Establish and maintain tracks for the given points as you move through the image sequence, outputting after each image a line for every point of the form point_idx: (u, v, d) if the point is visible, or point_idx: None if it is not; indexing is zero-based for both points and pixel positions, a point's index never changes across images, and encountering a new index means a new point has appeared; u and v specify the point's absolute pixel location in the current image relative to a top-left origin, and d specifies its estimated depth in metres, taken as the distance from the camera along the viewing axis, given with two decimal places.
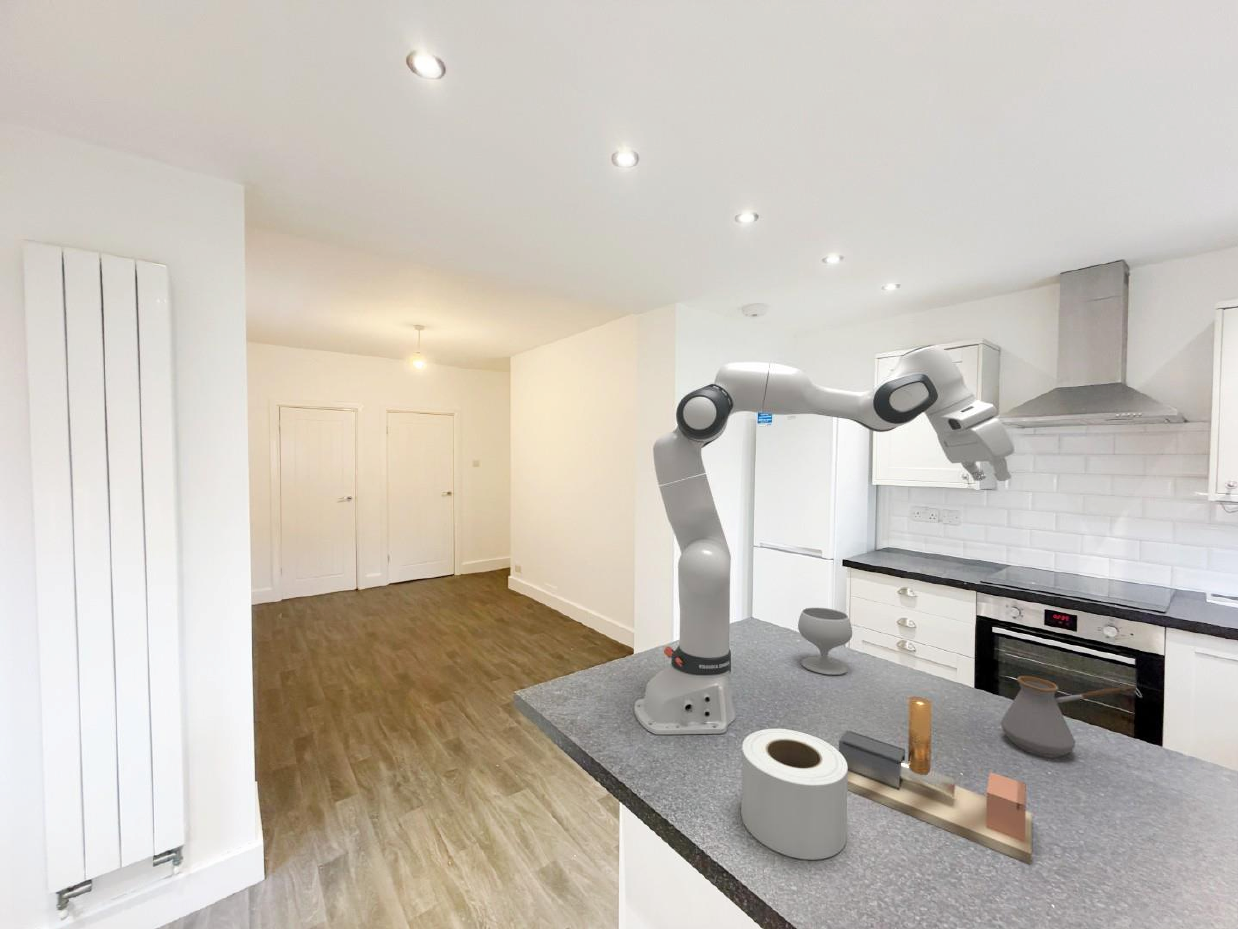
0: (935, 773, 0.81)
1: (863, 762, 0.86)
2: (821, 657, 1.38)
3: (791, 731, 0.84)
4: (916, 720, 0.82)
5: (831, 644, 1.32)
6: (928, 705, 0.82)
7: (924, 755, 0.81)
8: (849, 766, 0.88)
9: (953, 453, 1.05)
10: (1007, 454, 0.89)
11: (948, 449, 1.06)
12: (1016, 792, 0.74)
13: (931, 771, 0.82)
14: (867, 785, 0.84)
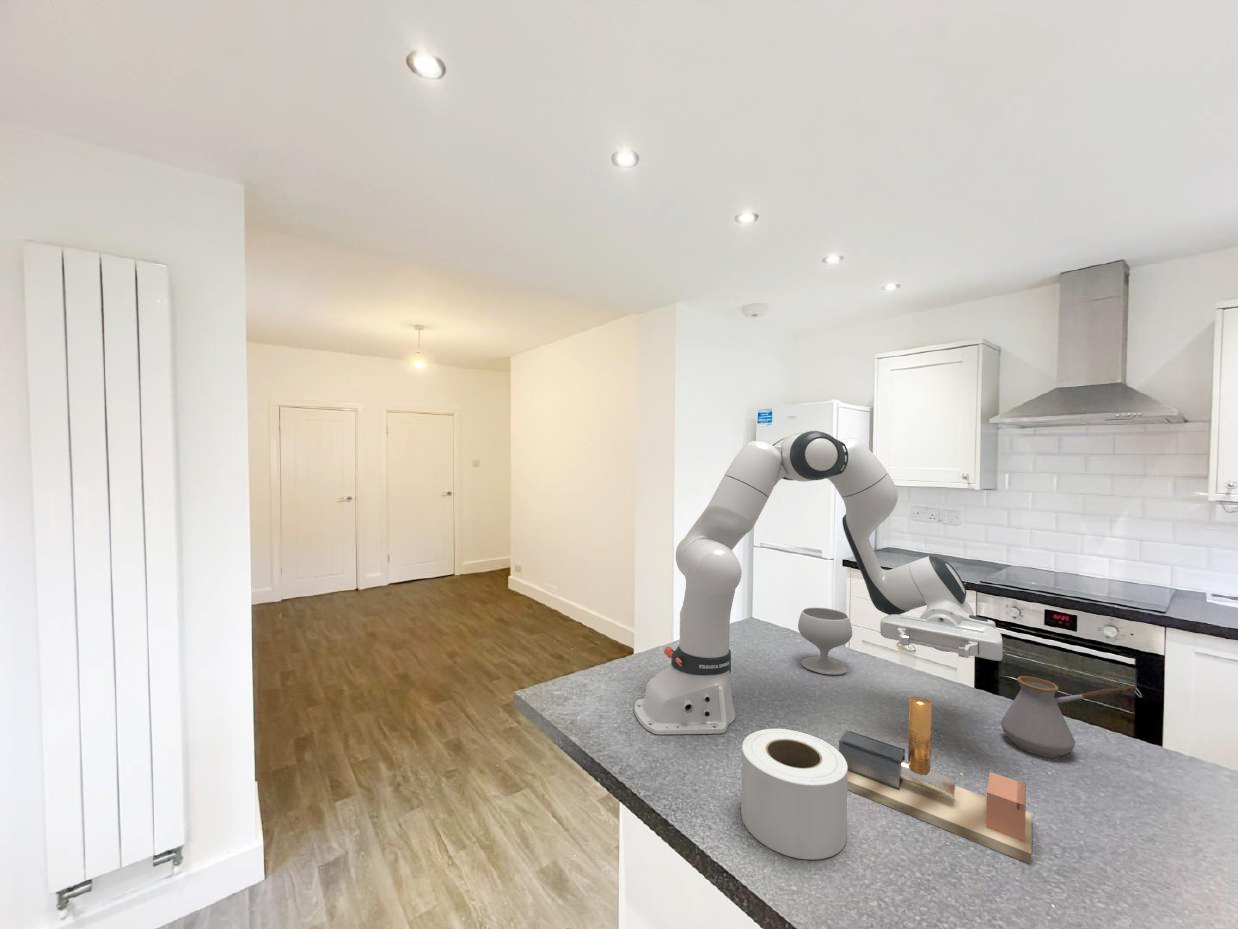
0: (935, 773, 0.81)
1: (863, 762, 0.86)
2: (821, 657, 1.38)
3: (791, 731, 0.84)
4: (916, 720, 0.82)
5: (831, 644, 1.32)
6: (928, 705, 0.82)
7: (924, 755, 0.81)
8: (849, 766, 0.88)
9: (907, 621, 1.01)
10: (999, 653, 0.90)
11: (901, 619, 1.03)
12: (1016, 792, 0.74)
13: (931, 771, 0.82)
14: (867, 785, 0.84)
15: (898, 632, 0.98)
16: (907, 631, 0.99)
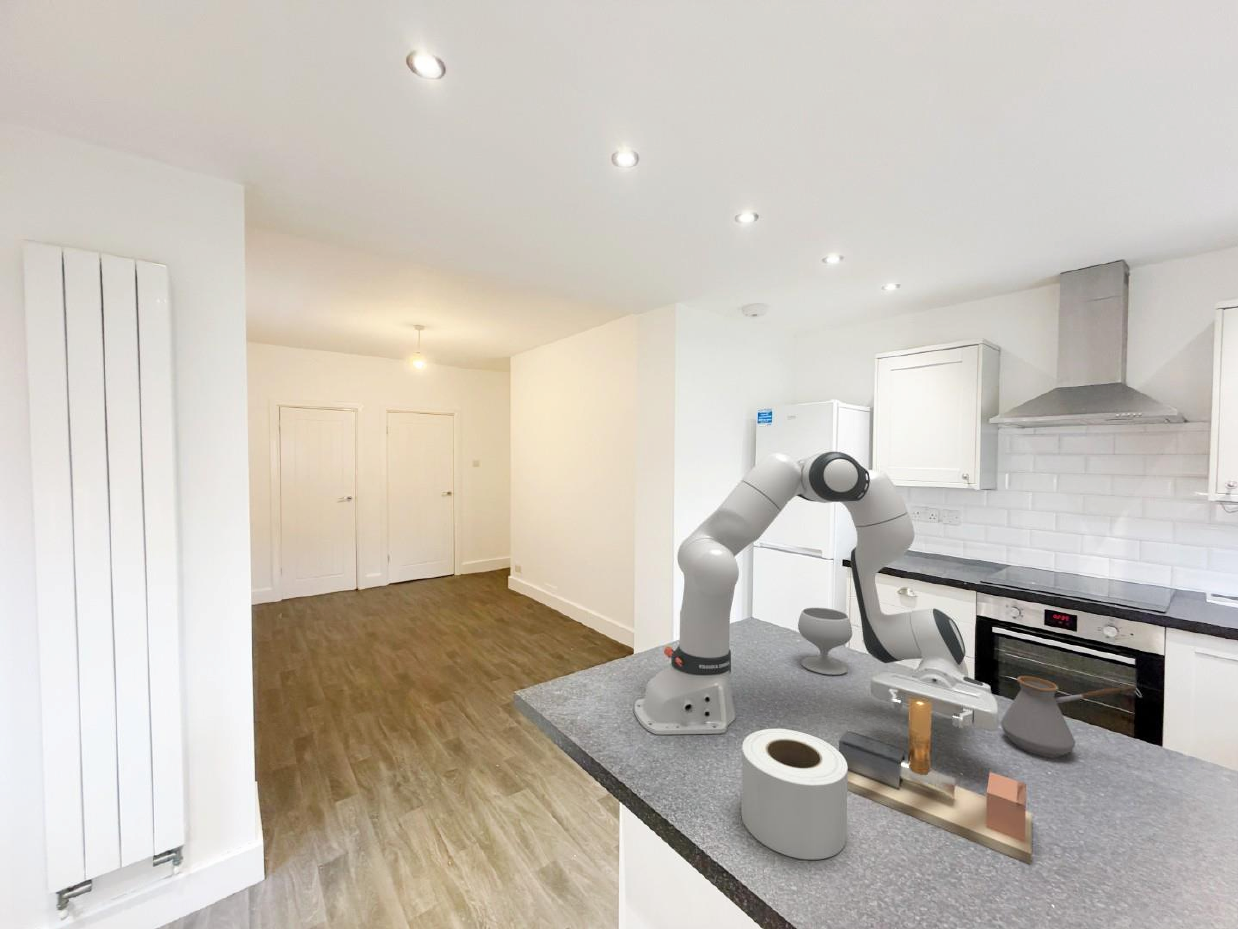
0: (935, 773, 0.81)
1: (863, 762, 0.86)
2: (821, 657, 1.38)
3: (791, 731, 0.84)
4: (916, 720, 0.82)
5: (831, 644, 1.32)
6: (928, 705, 0.82)
7: (924, 755, 0.81)
8: (849, 766, 0.88)
9: (899, 682, 0.97)
10: (994, 724, 0.85)
11: (892, 678, 0.98)
12: (1016, 792, 0.74)
13: (931, 771, 0.82)
14: (867, 785, 0.84)
15: (889, 694, 0.94)
16: (899, 693, 0.95)
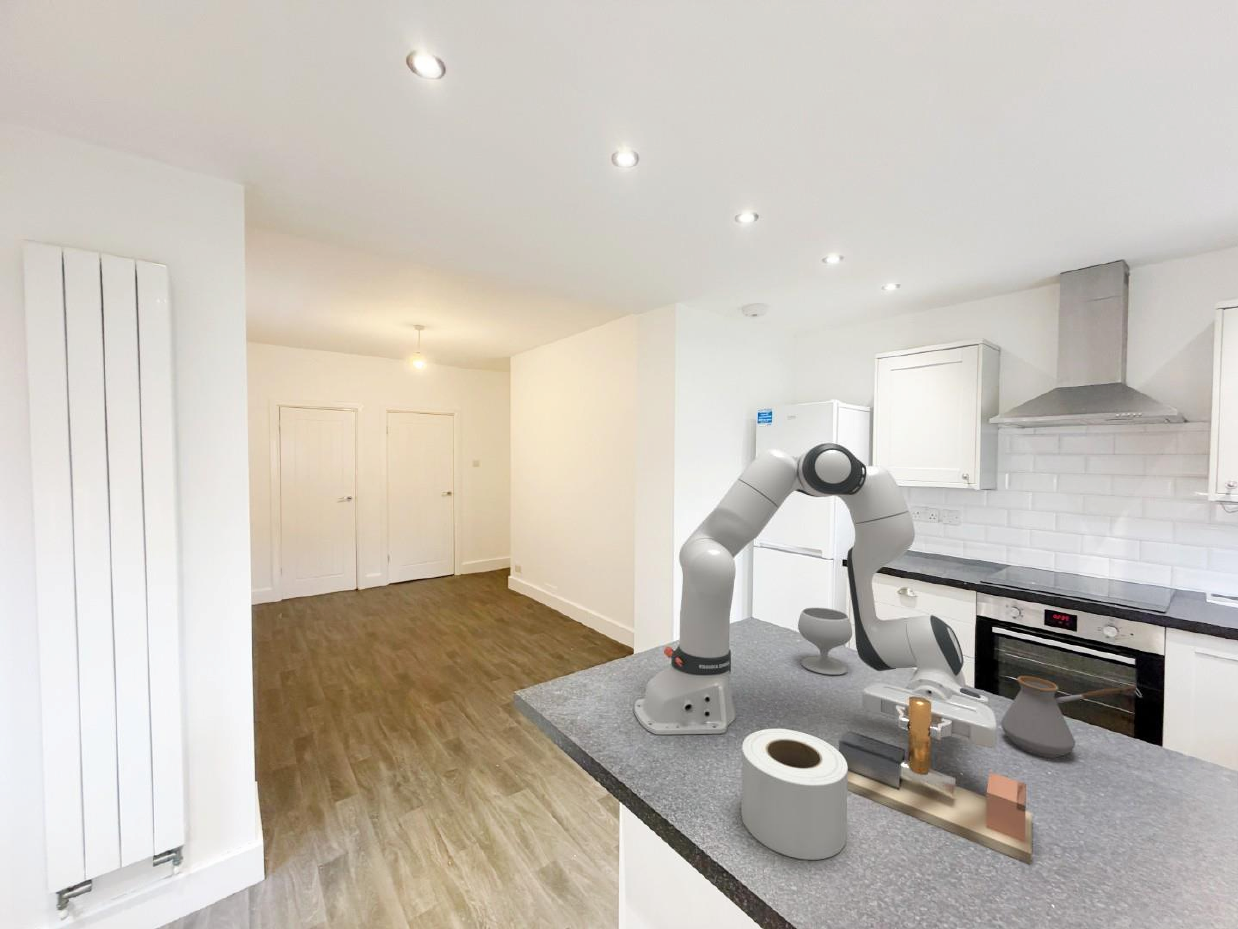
0: (935, 773, 0.81)
1: (863, 762, 0.86)
2: (821, 657, 1.38)
3: (791, 731, 0.84)
4: (916, 720, 0.82)
5: (831, 644, 1.32)
6: (928, 705, 0.82)
7: (924, 755, 0.81)
8: (849, 766, 0.88)
9: (892, 694, 0.91)
10: (993, 740, 0.80)
11: (885, 690, 0.93)
12: (1016, 792, 0.74)
13: (931, 771, 0.82)
14: (867, 785, 0.84)
15: (896, 712, 0.87)
16: (906, 710, 0.88)
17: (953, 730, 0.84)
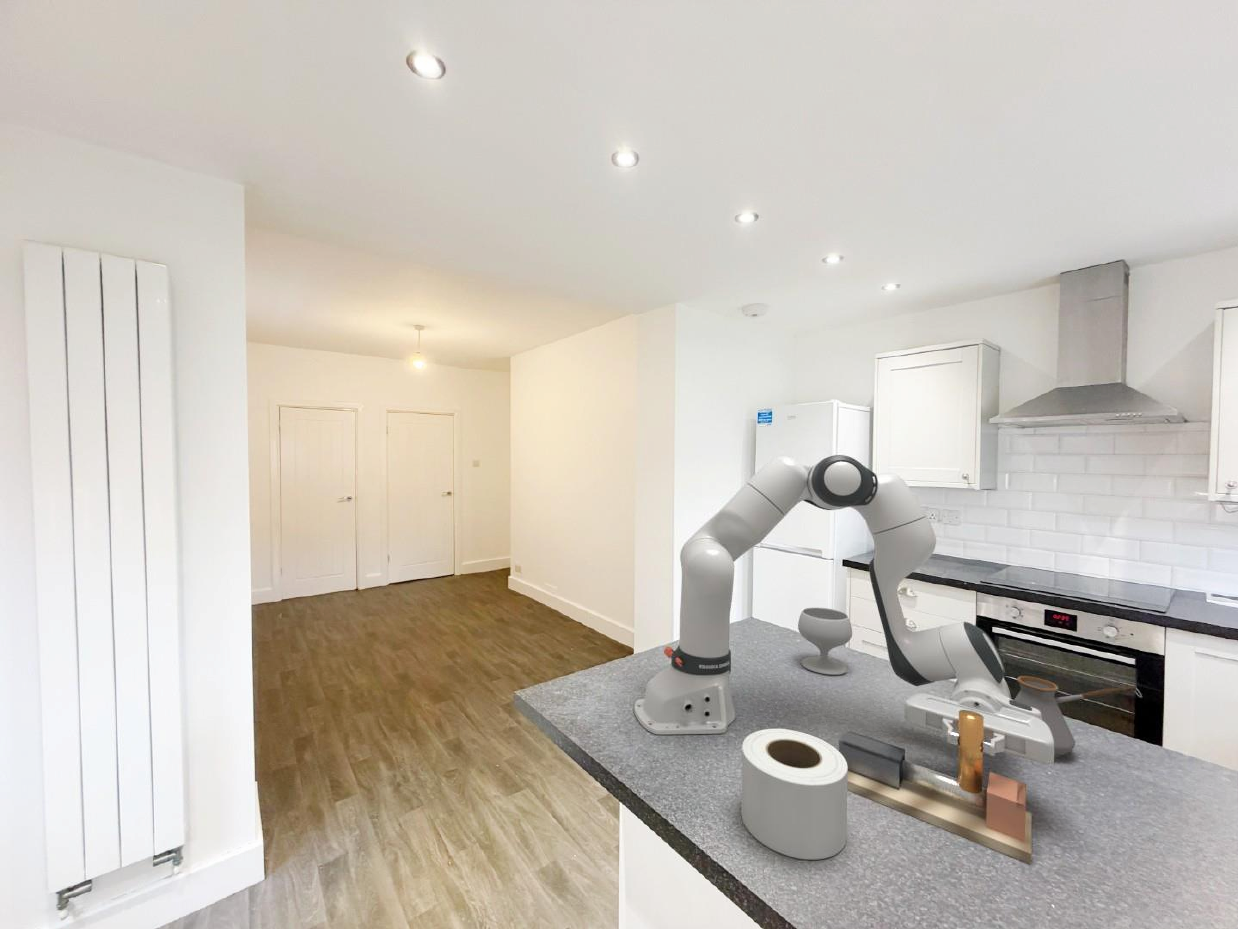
0: None
1: (863, 762, 0.86)
2: (821, 657, 1.38)
3: (791, 731, 0.84)
4: (967, 735, 0.77)
5: (831, 644, 1.32)
6: (980, 720, 0.77)
7: (976, 772, 0.77)
8: (849, 766, 0.88)
9: (937, 705, 0.87)
10: (1050, 756, 0.75)
11: (929, 702, 0.88)
12: (1016, 792, 0.74)
13: (983, 789, 0.77)
14: (867, 785, 0.84)
15: (944, 725, 0.83)
16: (954, 723, 0.83)
17: (1005, 745, 0.79)
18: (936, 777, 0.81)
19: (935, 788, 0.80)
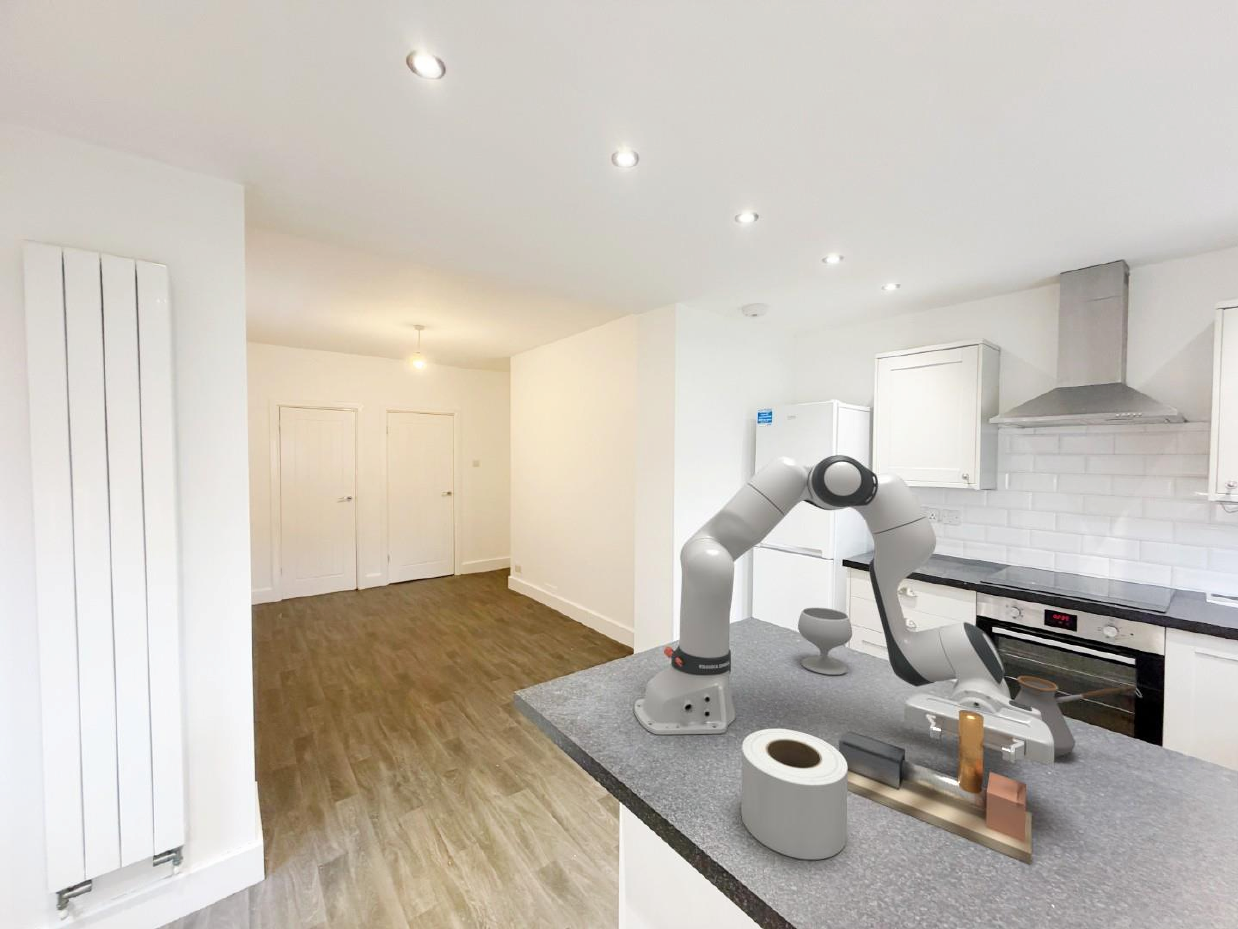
0: None
1: (863, 762, 0.86)
2: (821, 657, 1.38)
3: (791, 731, 0.84)
4: (968, 735, 0.77)
5: (831, 644, 1.32)
6: (980, 720, 0.77)
7: (976, 772, 0.77)
8: (849, 766, 0.88)
9: (937, 706, 0.87)
10: (1050, 757, 0.75)
11: (929, 702, 0.88)
12: (1016, 792, 0.74)
13: (984, 789, 0.77)
14: (867, 785, 0.84)
15: (927, 720, 0.84)
16: (937, 719, 0.85)
17: None
18: (936, 777, 0.81)
19: (935, 788, 0.80)
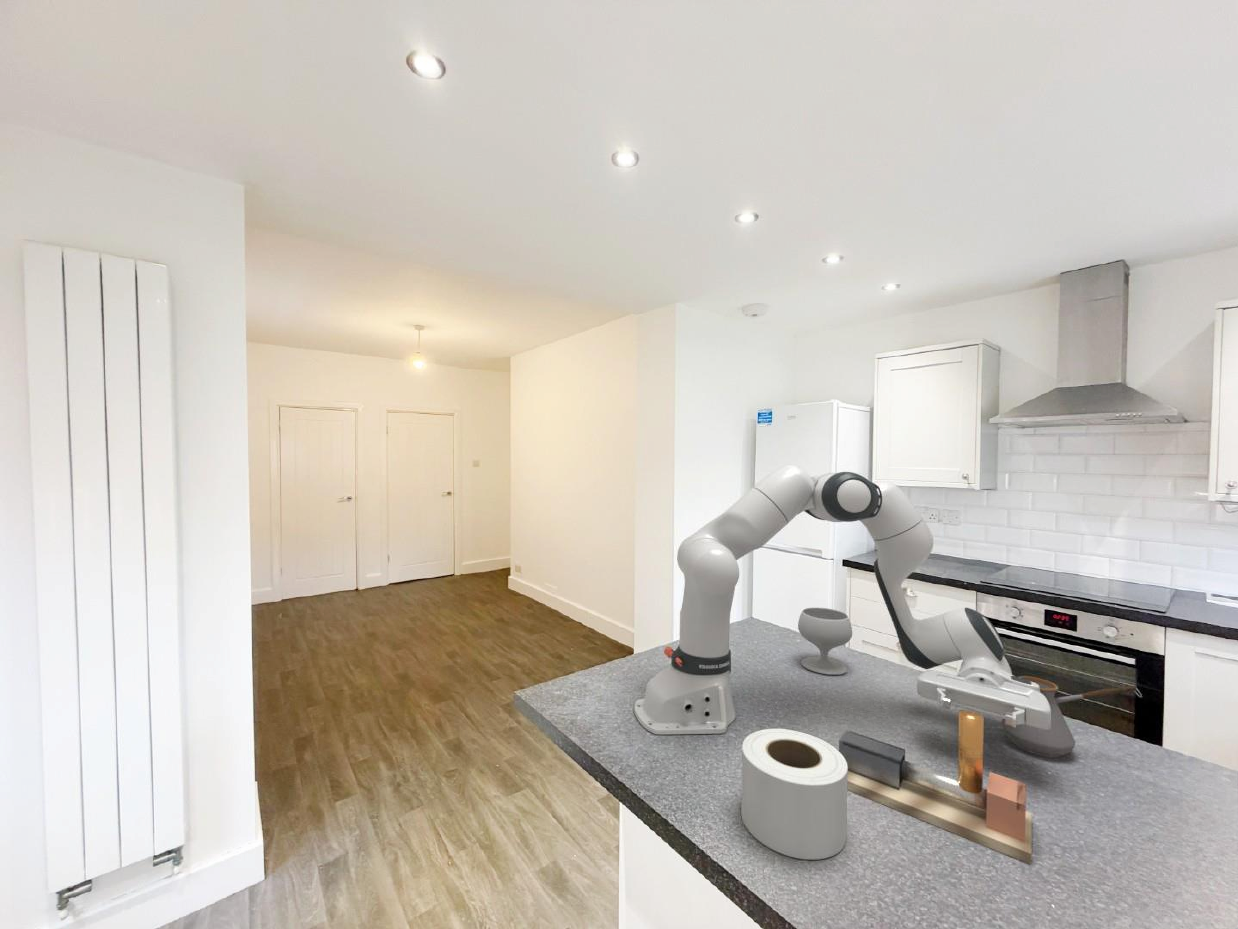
0: None
1: (863, 762, 0.86)
2: (821, 657, 1.38)
3: (791, 731, 0.84)
4: (968, 735, 0.77)
5: (831, 644, 1.32)
6: (980, 720, 0.77)
7: (976, 772, 0.77)
8: (849, 766, 0.88)
9: (946, 681, 0.97)
10: (1047, 723, 0.85)
11: (939, 677, 0.98)
12: (1016, 792, 0.74)
13: (984, 789, 0.77)
14: (867, 785, 0.84)
15: (937, 693, 0.94)
16: (946, 692, 0.95)
17: None
18: (936, 777, 0.81)
19: (935, 788, 0.80)
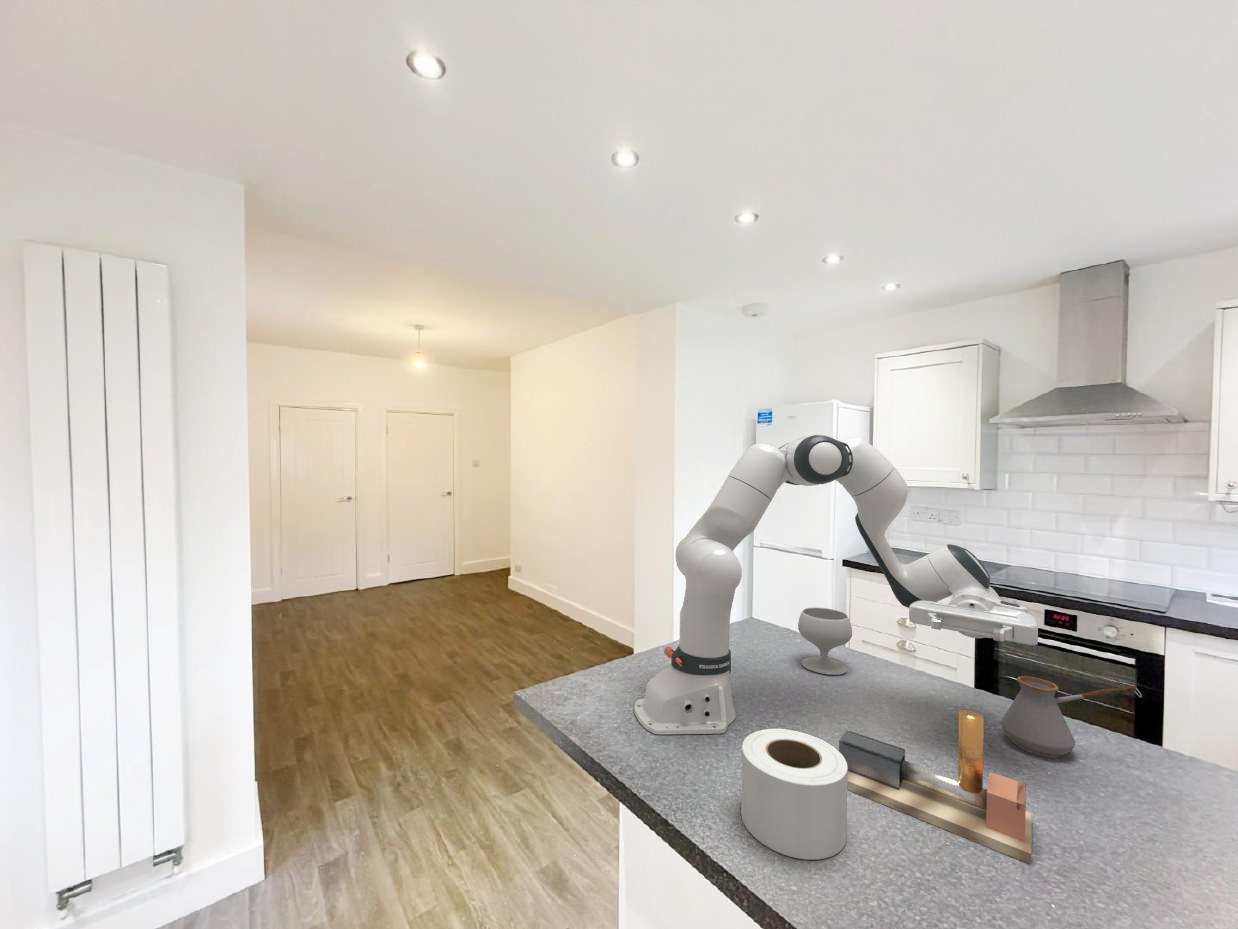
0: None
1: (863, 762, 0.86)
2: (821, 657, 1.38)
3: (791, 731, 0.84)
4: (968, 735, 0.77)
5: (831, 644, 1.32)
6: (980, 720, 0.77)
7: (976, 772, 0.77)
8: (849, 766, 0.88)
9: (937, 607, 0.99)
10: (1034, 638, 0.88)
11: (930, 605, 1.01)
12: (1016, 792, 0.74)
13: (984, 789, 0.77)
14: (867, 785, 0.84)
15: (929, 617, 0.97)
16: (937, 616, 0.97)
17: None
18: (936, 777, 0.81)
19: (935, 788, 0.80)
